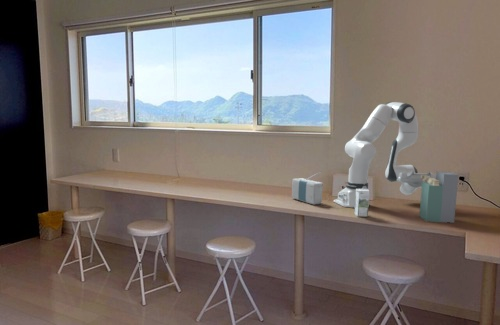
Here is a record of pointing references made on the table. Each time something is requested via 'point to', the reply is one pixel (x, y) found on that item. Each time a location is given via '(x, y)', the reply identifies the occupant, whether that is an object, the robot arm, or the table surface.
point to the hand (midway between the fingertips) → (421, 172)
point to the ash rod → (430, 180)
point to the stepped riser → (439, 198)
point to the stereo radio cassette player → (307, 190)
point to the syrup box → (362, 202)
